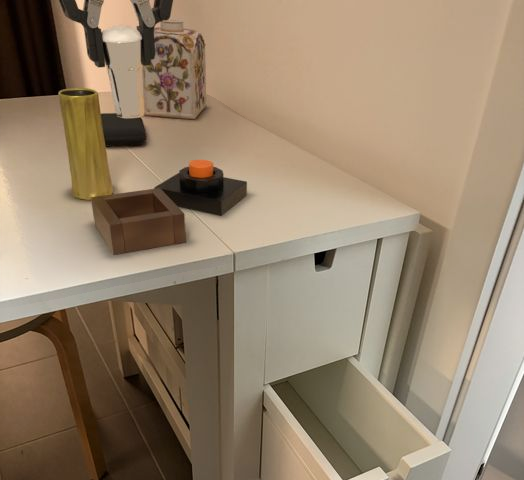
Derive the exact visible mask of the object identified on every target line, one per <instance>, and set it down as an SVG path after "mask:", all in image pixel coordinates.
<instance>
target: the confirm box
mask: <svg viewBox="0 0 524 480" xmlns="http://www.w3.org/2000/svg"><path fill="white" fill-rule="evenodd" d="M224 175H225V174H224V170H222V169H221V168H219V167H217V166H213V176H210V177H204V178H198V177H193V176H190V175H189V166H185V167H183V168H182V169H180V170H179V172H178V173H176V174H174V175H173V176H171V177H169V178H168V179H166V180H164V181H163V182H161V183H159V184H158V185H155V186H154V188H153V189H155V188H160V189H161V190H162V191H163V192H164V193H165V194H166V195H167V196H168V197H169V198H170V199H171V200H172V201H173V202H174V203H175V204H176V205H177V206H178V207H179V208H184V209H189V210H192V211H193V210H194V211H198V212H201V213H207V214H212V215H217V216H222V215H225V213H227V212H228V211H229V210H231V209H232V208H233V207H234V206H235V205H237V204H238V203H239V202H240V201H242V200H243V199H244V198H245V197H246V196H247V194H248V192H247V191H248V181H246V180H240V179H237V178H236V179H235V178H231V177H224Z"/></svg>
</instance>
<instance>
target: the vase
mask: <svg viewBox="0 0 524 480" xmlns="http://www.w3.org/2000/svg"><path fill="white" fill-rule="evenodd" d="M58 100H59V107H60V112H61V118H62V123H63V131H64V137H65V143H66V150H67V156H68V157H67V158H68V164H69V173H70V178H71V195H72V196H73V197H75V198H77V199H80V200H84V201H85V200H87V201H91V197H97V196H104V195H111V194H114V188H113V187H114V186H113V183H112V179H111V173H110V168H109V160H108V154H107V153H108V152H107V146H105V139H104V134H103V127H102V120H101V114H102V113H101V105H100V97H99V91H97V90H95V89H92V88H85V87H75V88H74V87H72V88H65V89H64V88H63V89H61V90H59V91H58Z"/></svg>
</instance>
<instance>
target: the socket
mask: <svg viewBox="0 0 524 480" xmlns="http://www.w3.org/2000/svg"><path fill="white" fill-rule="evenodd" d="M90 203H91V207H92V208H91V209H92V216H93V223H94V226H95V228H96V229H97V231H98V233H99V234H100V236H101V237H102V239H103V241H104V242H105V243H106V245H107V247H108V248H109V250H110V251H111V253H112V255H114V256H115V255H121V254H126V253H132V252H137V251H144V250H149V249H155V248H160V247H165V246H171V245H178V244H184V243H186V221H185V219H186V217H185V212H184V211H183V210H182V209H181V207H179V206H177V205H176V204H175V203H174V202H173V201H172V200H171V199H170V198H169V197H168V196H167V195H166V194H165V193H164V192H163V191H162V190H161V189H160V188H155V189H154V188H149V189H142V190H141V189H140V190H135V191H127V192H120V193H119V192H118V193H112V194H111V195H104V196H97V197H91V200H90Z"/></svg>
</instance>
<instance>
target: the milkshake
mask: <svg viewBox="0 0 524 480" xmlns="http://www.w3.org/2000/svg"><path fill="white" fill-rule="evenodd" d="M101 32H102V41H103V50H104V59H105V68H106V72H107V75H108V79H109V85H110V89H111V94H112V100H113V103H114V108H115V109H114V110H115V113H116V114H117V117H121V118H138V117H141V118H142V117H143V116H145V112H144V96H143V72H142V36H141V34H140V33H139V31H138V30H137V28H135V27H133V26H132V25H127V24H126V25H123V24H120V25H117V26H112V27H108V28H106V29H104V30H101Z"/></svg>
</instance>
